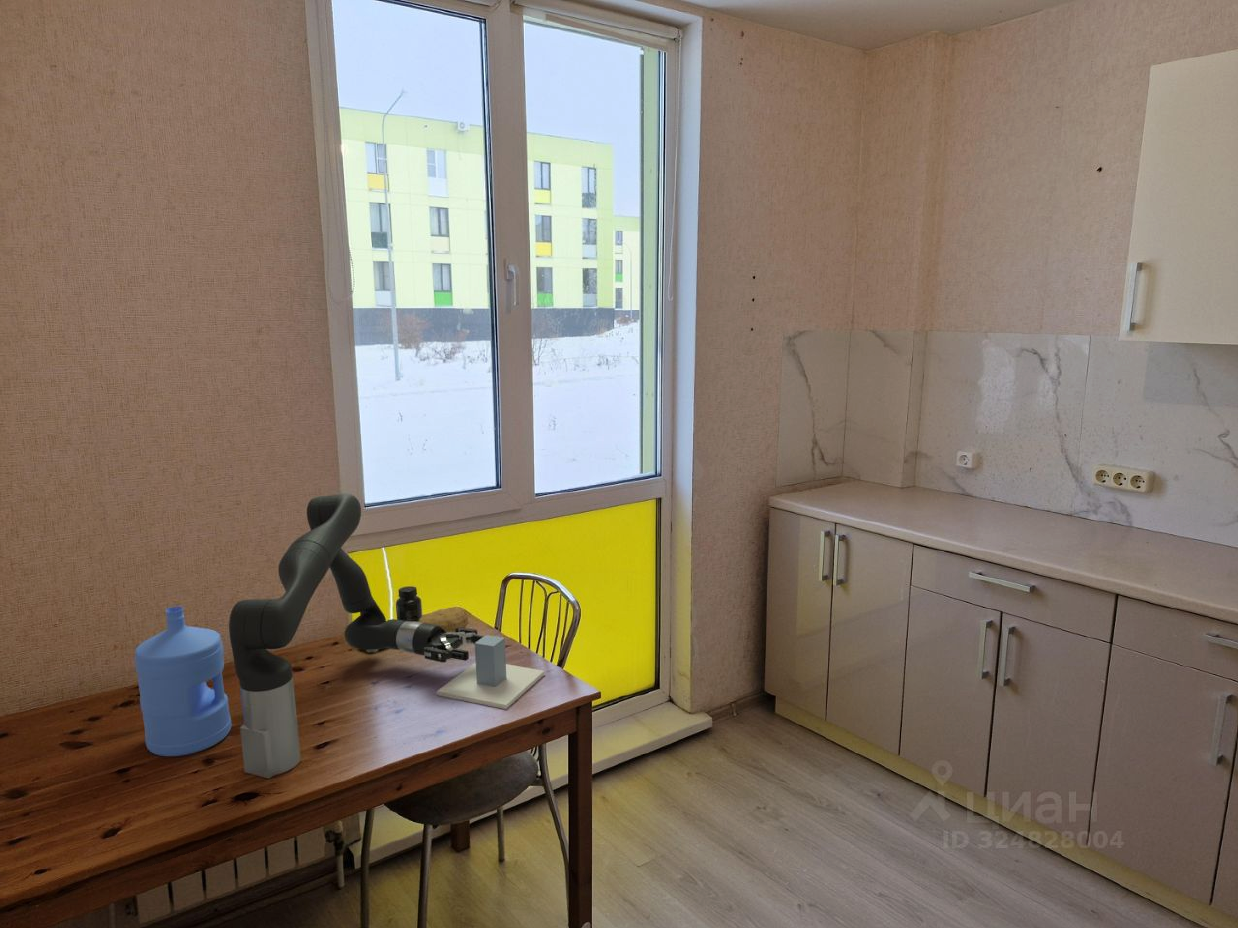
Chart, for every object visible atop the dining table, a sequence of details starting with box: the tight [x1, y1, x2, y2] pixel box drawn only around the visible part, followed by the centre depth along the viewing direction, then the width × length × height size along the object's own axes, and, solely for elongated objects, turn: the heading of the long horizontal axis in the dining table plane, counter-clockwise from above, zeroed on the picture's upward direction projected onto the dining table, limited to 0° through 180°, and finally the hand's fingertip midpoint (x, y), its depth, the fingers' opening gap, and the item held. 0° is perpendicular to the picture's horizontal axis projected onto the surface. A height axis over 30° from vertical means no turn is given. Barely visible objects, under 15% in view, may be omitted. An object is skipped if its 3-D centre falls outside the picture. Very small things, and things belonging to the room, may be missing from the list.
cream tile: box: [436, 662, 545, 710], centre depth 187 cm, size 18×18×1 cm
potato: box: [418, 606, 469, 633], centre depth 212 cm, size 10×14×8 cm
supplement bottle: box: [395, 585, 423, 622], centre depth 218 cm, size 7×7×12 cm
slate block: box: [474, 634, 507, 687], centre depth 186 cm, size 5×5×10 cm
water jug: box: [134, 606, 232, 757], centre depth 163 cm, size 16×16×28 cm
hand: (478, 648), depth 187 cm, fingers open, 8 cm apart
